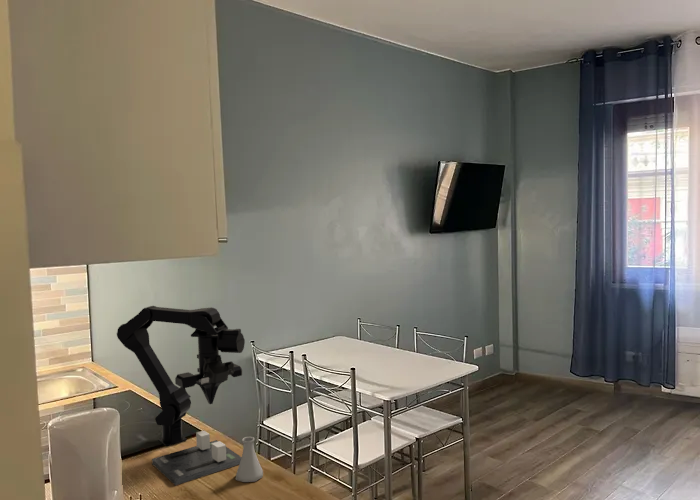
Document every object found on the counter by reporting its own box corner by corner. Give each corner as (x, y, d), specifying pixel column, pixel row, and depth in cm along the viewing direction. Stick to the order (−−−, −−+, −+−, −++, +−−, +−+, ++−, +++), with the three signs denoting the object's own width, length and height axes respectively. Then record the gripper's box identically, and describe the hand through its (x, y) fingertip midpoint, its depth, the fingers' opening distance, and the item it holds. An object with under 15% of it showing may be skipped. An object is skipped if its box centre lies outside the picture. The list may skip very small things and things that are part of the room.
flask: (257, 484, 143) (256, 445, 143) (230, 482, 145) (229, 443, 144) (267, 471, 150) (266, 434, 150) (241, 469, 152) (240, 432, 151)
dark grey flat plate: (152, 464, 156) (152, 458, 156) (216, 445, 168) (216, 439, 168) (175, 485, 143) (175, 479, 143) (243, 463, 155) (242, 457, 155)
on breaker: (212, 457, 155) (211, 443, 154) (220, 455, 156) (219, 441, 156) (218, 462, 152) (217, 447, 152) (226, 459, 153) (225, 445, 153)
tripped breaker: (196, 446, 163) (196, 432, 162) (204, 444, 164) (204, 430, 164) (202, 450, 160) (201, 436, 159) (210, 447, 161) (209, 434, 161)
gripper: (189, 362, 155) (191, 419, 156) (250, 351, 167) (252, 403, 168) (173, 355, 164) (175, 408, 165) (232, 344, 175) (234, 394, 176)
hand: (210, 403), depth 168 cm, fingers closed
